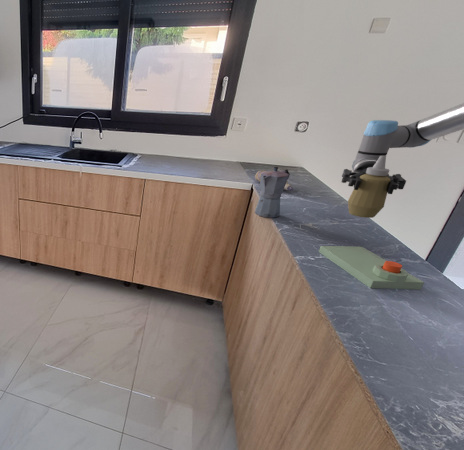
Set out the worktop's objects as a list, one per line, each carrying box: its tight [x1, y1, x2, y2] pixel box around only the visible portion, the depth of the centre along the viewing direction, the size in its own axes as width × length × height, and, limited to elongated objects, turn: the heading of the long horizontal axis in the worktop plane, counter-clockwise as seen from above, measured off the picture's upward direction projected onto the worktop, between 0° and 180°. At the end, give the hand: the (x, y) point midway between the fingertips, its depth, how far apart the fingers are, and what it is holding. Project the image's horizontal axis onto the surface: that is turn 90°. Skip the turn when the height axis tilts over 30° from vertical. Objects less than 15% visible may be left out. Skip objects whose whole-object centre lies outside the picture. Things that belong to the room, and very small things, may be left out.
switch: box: [382, 260, 403, 273], centre depth 80 cm, size 3×3×2 cm
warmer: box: [318, 245, 425, 290], centre depth 88 cm, size 12×20×4 cm, turn 175°
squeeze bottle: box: [347, 155, 390, 219], centre depth 92 cm, size 8×8×18 cm
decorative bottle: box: [254, 169, 294, 191], centre depth 162 cm, size 26×8×7 cm, turn 0°
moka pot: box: [254, 166, 291, 219], centre depth 125 cm, size 10×15×20 cm, turn 117°
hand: (374, 187), depth 88 cm, fingers closed on squeeze bottle, 6 cm apart
